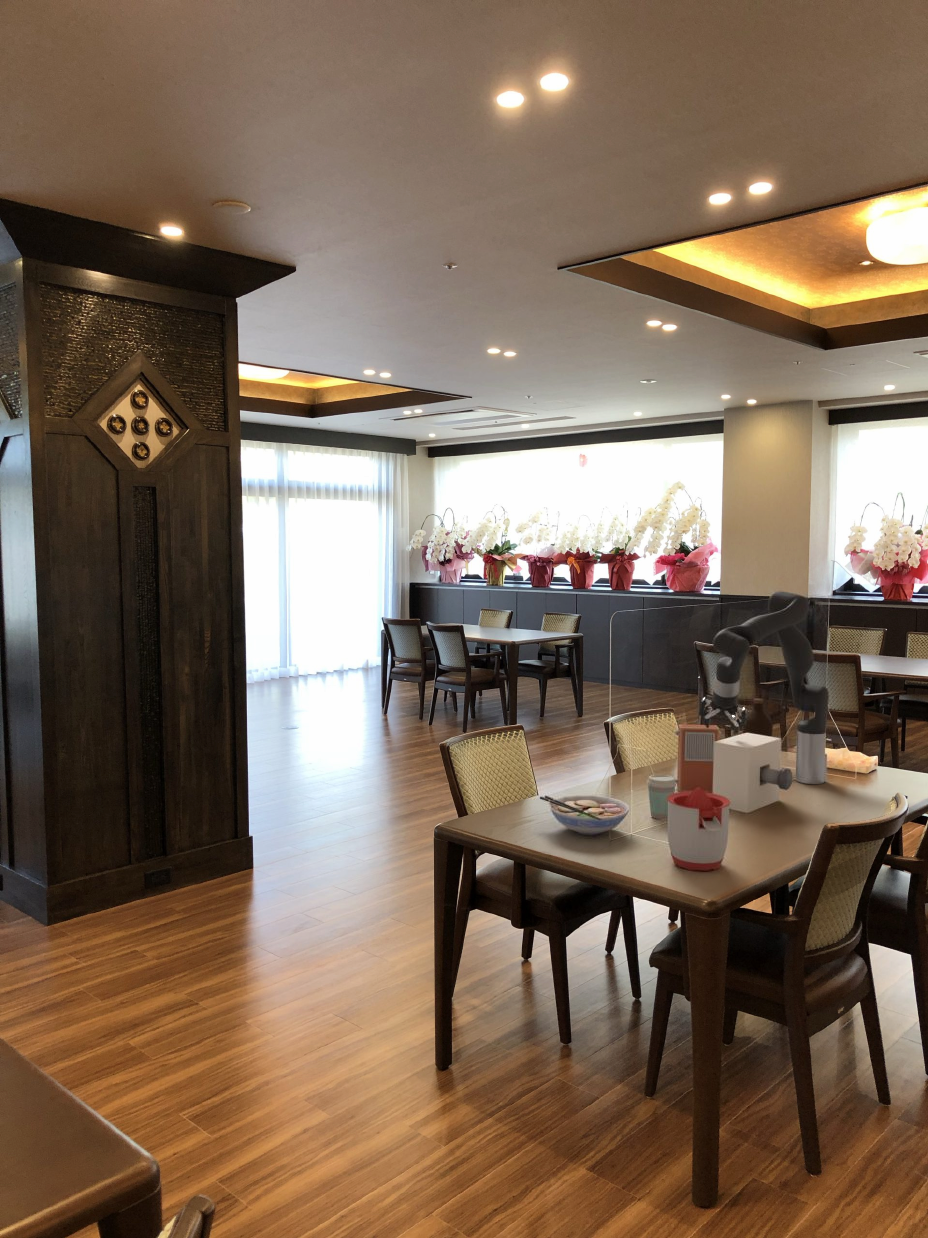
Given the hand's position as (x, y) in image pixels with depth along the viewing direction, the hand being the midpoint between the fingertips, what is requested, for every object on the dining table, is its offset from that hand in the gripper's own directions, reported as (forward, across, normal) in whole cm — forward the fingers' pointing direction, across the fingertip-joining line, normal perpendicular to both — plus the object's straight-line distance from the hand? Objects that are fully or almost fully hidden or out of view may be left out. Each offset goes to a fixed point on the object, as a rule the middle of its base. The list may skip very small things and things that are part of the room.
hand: (721, 729), depth 297 cm
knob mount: (+19, -12, +8) cm, 24 cm away
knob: (+11, -19, +7) cm, 23 cm away
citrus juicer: (-9, -10, +66) cm, 67 cm away
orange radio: (+26, +5, +3) cm, 26 cm away
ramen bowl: (+2, +23, +56) cm, 60 cm away
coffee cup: (+10, +8, +34) cm, 37 cm away
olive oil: (+43, -8, -35) cm, 56 cm away
